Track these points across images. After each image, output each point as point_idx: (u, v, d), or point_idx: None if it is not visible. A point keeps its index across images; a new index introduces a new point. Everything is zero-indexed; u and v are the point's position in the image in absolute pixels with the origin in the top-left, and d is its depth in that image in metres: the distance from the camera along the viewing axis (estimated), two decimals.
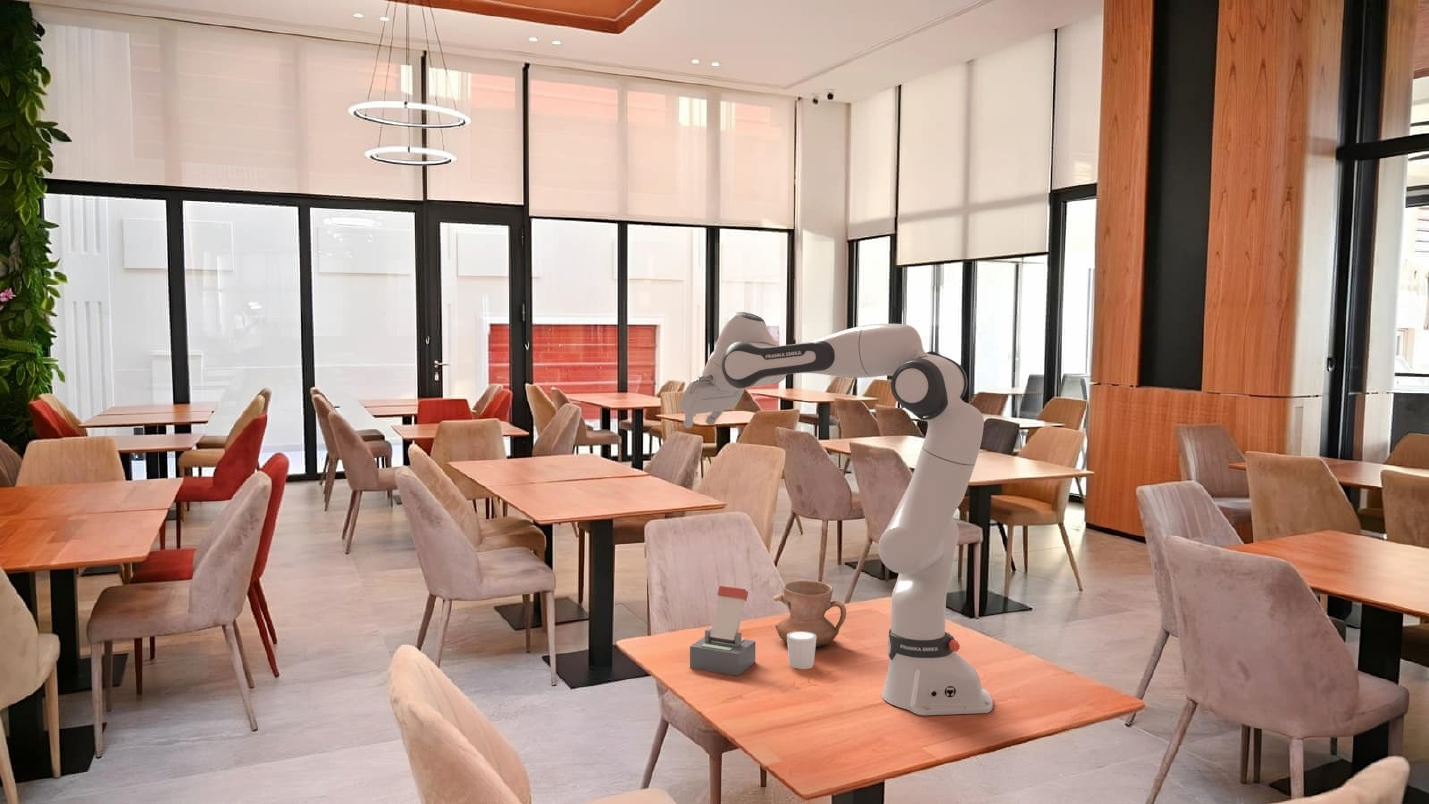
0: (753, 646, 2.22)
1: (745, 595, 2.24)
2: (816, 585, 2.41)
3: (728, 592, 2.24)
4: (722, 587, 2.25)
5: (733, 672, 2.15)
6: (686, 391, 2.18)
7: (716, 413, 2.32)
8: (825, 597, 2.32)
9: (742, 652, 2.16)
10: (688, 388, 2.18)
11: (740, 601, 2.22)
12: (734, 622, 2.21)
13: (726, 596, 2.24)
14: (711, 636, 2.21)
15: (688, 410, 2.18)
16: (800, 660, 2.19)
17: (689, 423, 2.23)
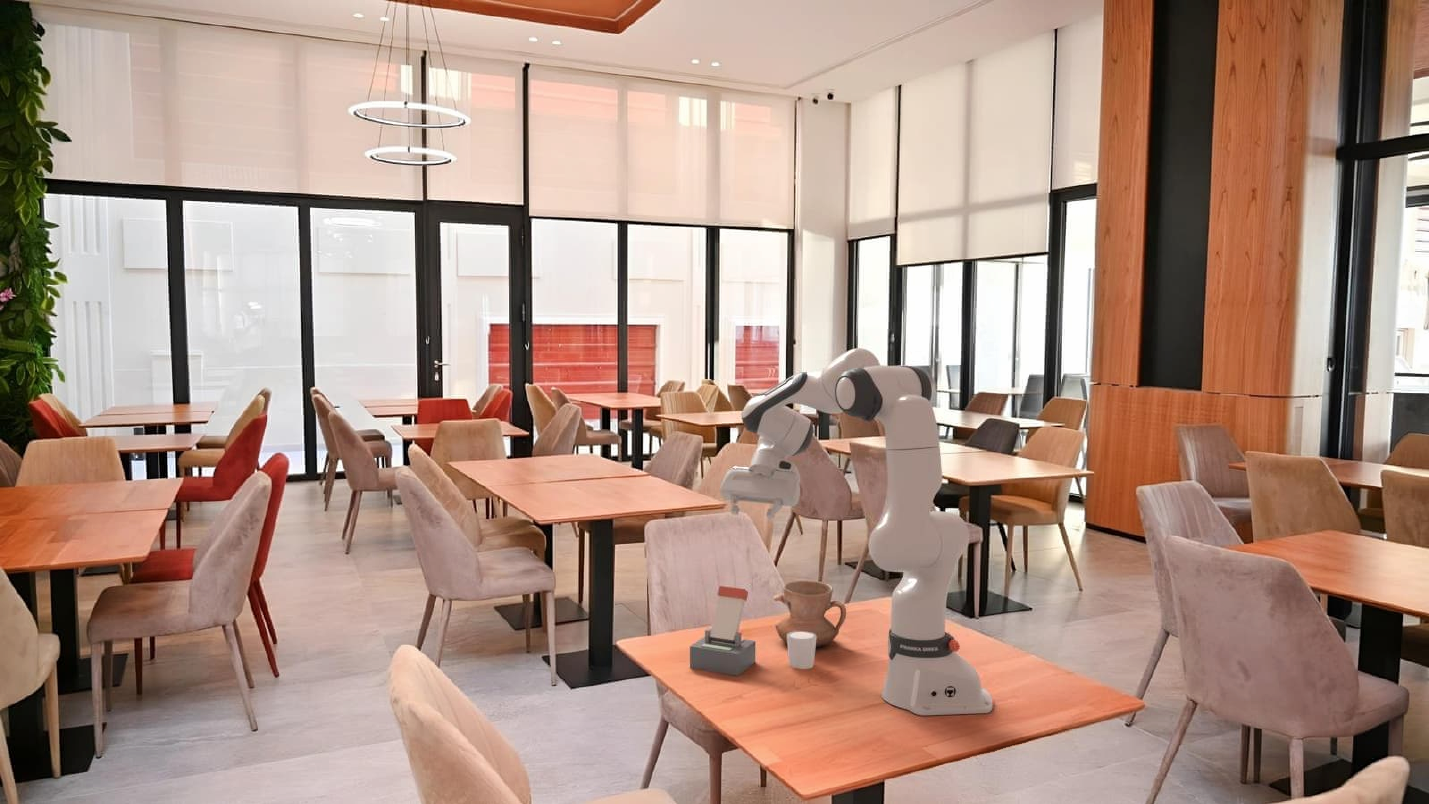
0: (753, 646, 2.22)
1: (745, 595, 2.24)
2: (816, 585, 2.41)
3: (728, 592, 2.24)
4: (722, 587, 2.25)
5: (733, 672, 2.15)
6: None
7: None
8: (825, 597, 2.32)
9: (742, 652, 2.16)
10: None
11: (740, 601, 2.22)
12: (734, 622, 2.21)
13: (726, 596, 2.24)
14: (711, 636, 2.21)
15: None
16: (800, 660, 2.19)
17: (732, 506, 2.38)
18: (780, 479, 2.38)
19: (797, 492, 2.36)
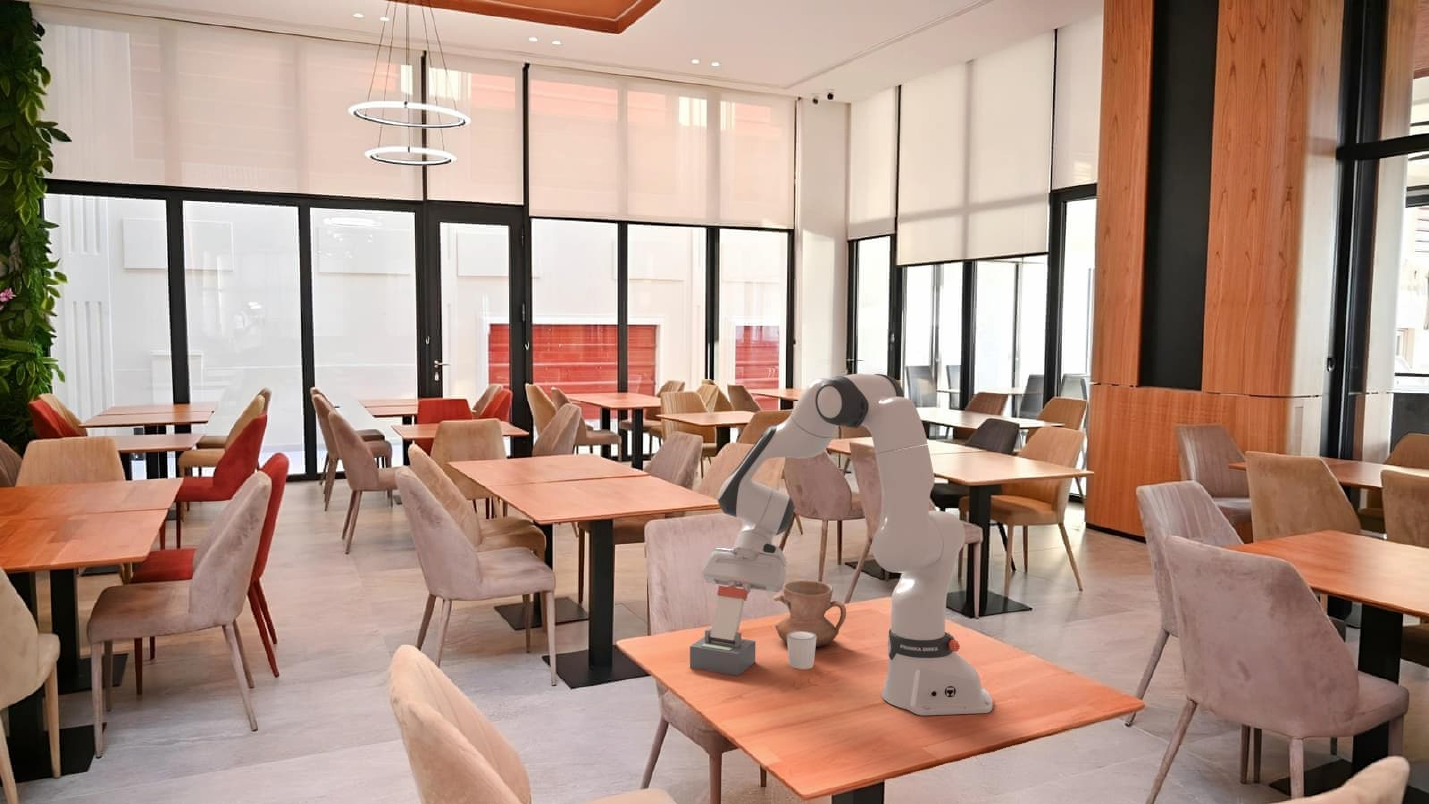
0: (753, 646, 2.22)
1: (745, 595, 2.23)
2: (816, 585, 2.41)
3: (728, 591, 2.24)
4: (722, 587, 2.25)
5: (733, 672, 2.15)
6: None
7: None
8: (825, 597, 2.32)
9: (742, 652, 2.16)
10: None
11: (740, 601, 2.22)
12: (734, 622, 2.21)
13: (726, 596, 2.24)
14: (711, 636, 2.21)
15: (702, 572, 2.32)
16: (800, 660, 2.19)
17: None
18: (764, 563, 2.28)
19: (782, 577, 2.26)
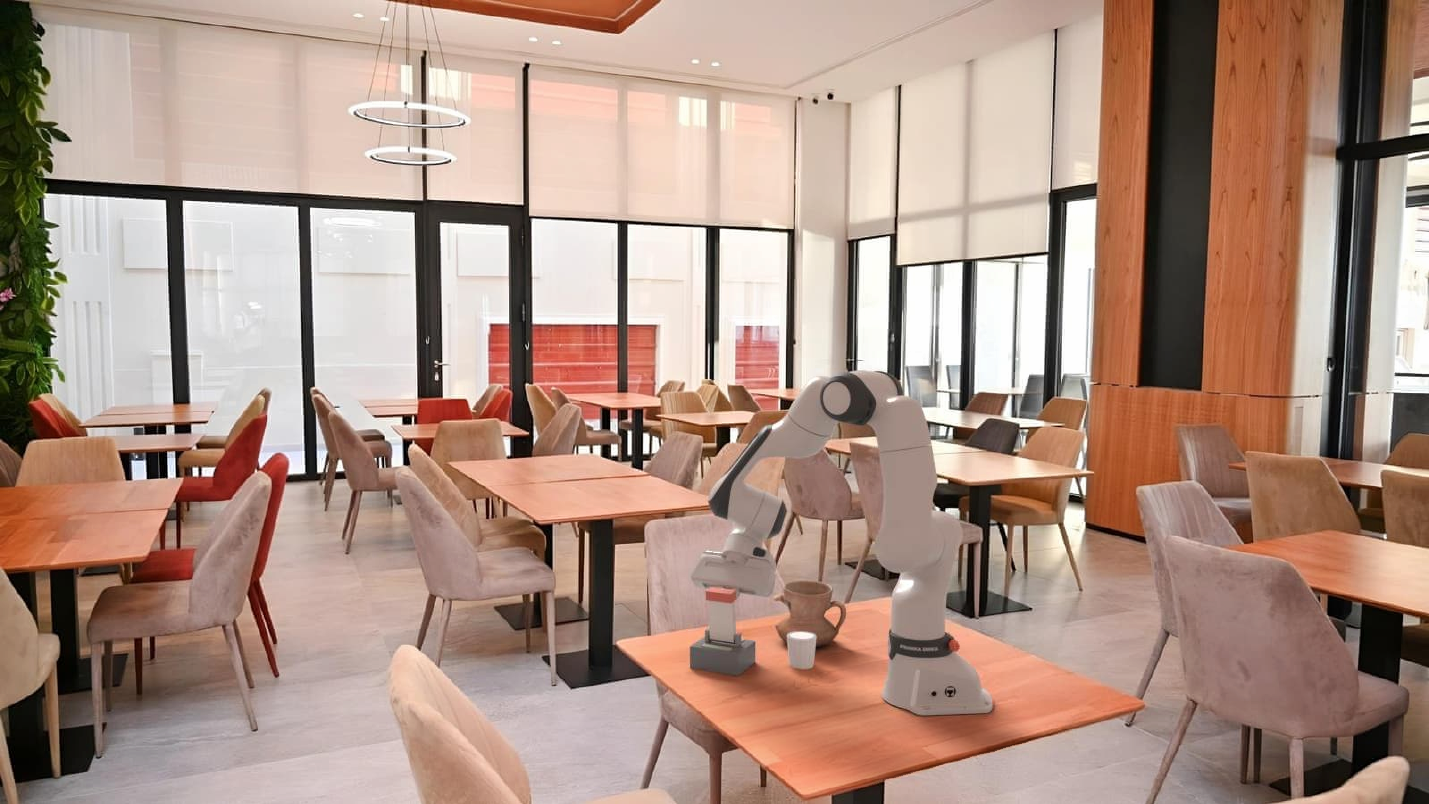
0: (753, 646, 2.22)
1: (733, 596, 2.17)
2: (816, 585, 2.41)
3: (716, 597, 2.18)
4: (708, 592, 2.18)
5: (733, 672, 2.15)
6: None
7: None
8: (825, 597, 2.32)
9: (742, 652, 2.16)
10: None
11: (730, 605, 2.17)
12: (729, 625, 2.18)
13: (715, 600, 2.18)
14: (711, 638, 2.21)
15: (690, 575, 2.27)
16: (800, 660, 2.19)
17: None
18: (754, 567, 2.23)
19: (771, 582, 2.20)
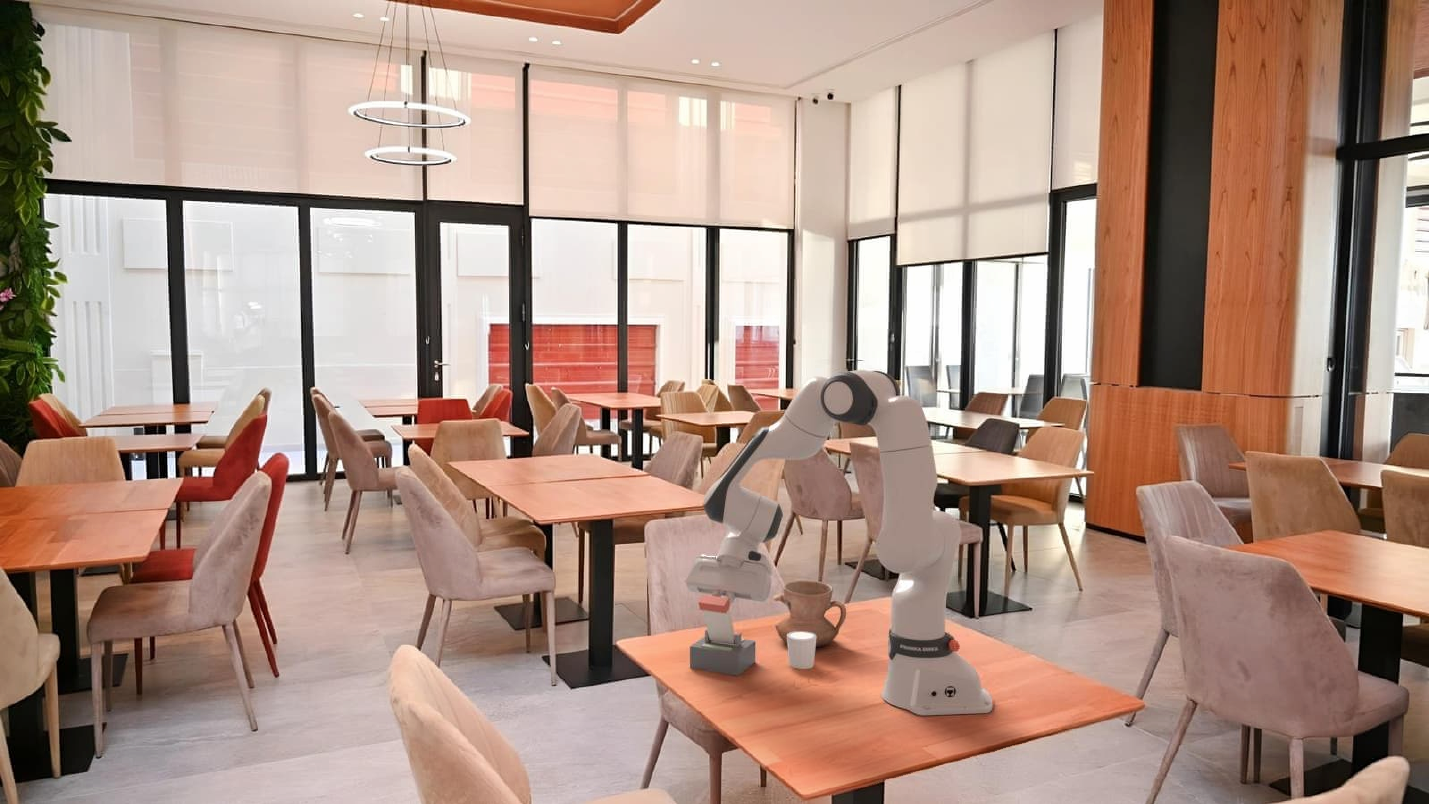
0: (753, 646, 2.22)
1: (727, 605, 2.14)
2: (816, 585, 2.41)
3: (709, 607, 2.15)
4: (701, 603, 2.15)
5: (733, 672, 2.15)
6: None
7: None
8: (825, 597, 2.32)
9: (742, 652, 2.16)
10: None
11: (725, 613, 2.15)
12: (727, 630, 2.17)
13: None
14: (711, 639, 2.21)
15: (685, 580, 2.24)
16: (800, 660, 2.19)
17: None
18: (749, 571, 2.20)
19: (767, 586, 2.18)
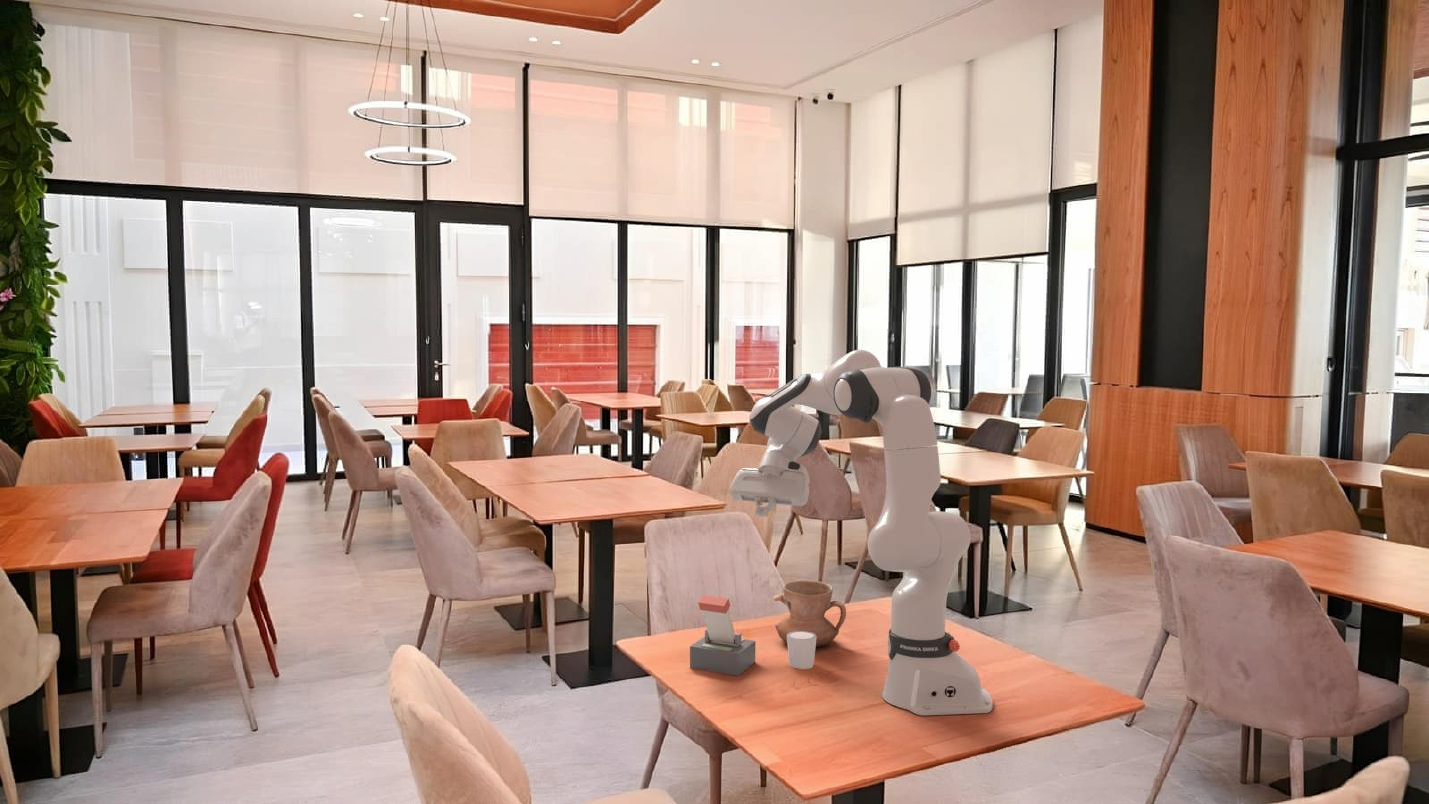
0: (753, 646, 2.22)
1: (727, 605, 2.14)
2: (816, 585, 2.41)
3: (709, 607, 2.15)
4: (701, 604, 2.15)
5: (733, 672, 2.15)
6: None
7: None
8: (825, 597, 2.32)
9: (742, 652, 2.16)
10: None
11: (725, 613, 2.15)
12: (727, 630, 2.17)
13: None
14: (711, 639, 2.21)
15: (729, 489, 2.44)
16: (800, 660, 2.19)
17: None
18: (789, 479, 2.40)
19: (806, 492, 2.38)
